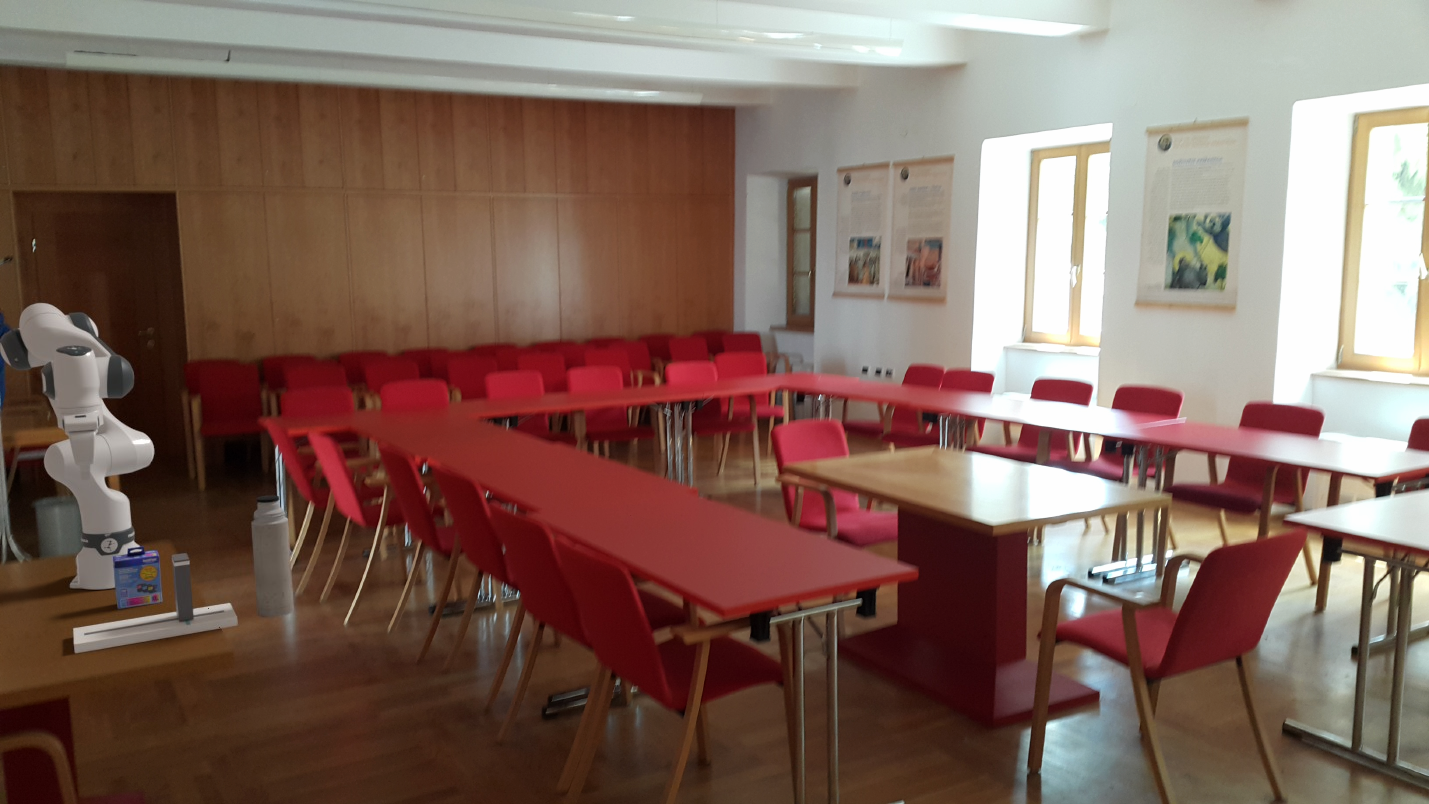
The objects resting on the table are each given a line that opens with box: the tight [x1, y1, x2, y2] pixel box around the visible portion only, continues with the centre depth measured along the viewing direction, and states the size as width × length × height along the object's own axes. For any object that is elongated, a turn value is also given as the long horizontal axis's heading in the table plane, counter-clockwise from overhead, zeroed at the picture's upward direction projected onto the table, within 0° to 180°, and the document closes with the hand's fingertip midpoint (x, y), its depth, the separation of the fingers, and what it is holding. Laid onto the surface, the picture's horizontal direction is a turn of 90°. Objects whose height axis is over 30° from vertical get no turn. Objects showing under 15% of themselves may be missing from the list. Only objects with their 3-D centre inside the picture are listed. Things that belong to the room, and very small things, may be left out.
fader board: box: [72, 602, 239, 654], centre depth 238 cm, size 12×32×2 cm, turn 122°
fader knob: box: [171, 552, 194, 621], centre depth 240 cm, size 6×3×14 cm, turn 32°
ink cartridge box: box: [113, 545, 163, 610], centre depth 258 cm, size 10×6×14 cm, turn 124°
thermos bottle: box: [251, 494, 295, 619], centre depth 249 cm, size 8×8×28 cm
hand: (86, 478), depth 239 cm, fingers closed
